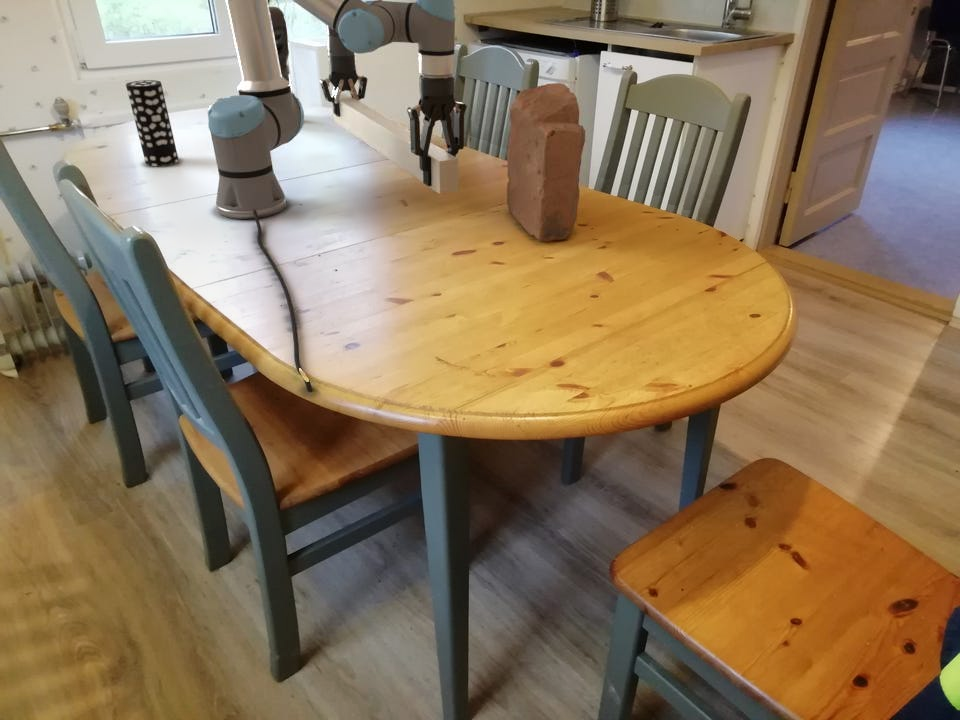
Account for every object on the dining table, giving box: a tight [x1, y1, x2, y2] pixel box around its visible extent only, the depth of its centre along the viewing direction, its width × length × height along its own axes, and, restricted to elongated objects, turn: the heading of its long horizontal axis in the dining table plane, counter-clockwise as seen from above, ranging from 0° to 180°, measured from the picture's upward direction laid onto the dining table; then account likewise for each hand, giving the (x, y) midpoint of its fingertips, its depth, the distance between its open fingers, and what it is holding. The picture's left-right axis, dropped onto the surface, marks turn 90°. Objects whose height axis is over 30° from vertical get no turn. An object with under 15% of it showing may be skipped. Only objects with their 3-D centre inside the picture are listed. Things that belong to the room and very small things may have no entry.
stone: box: [506, 82, 586, 242], centre depth 144 cm, size 22×11×28 cm, turn 18°
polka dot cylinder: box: [125, 79, 179, 167], centre depth 181 cm, size 8×8×20 cm
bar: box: [330, 93, 459, 195], centre depth 179 cm, size 73×5×7 cm, turn 29°
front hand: (438, 182), depth 158 cm, fingers closed on bar, 5 cm apart
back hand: (346, 114), depth 202 cm, fingers closed on bar, 4 cm apart
